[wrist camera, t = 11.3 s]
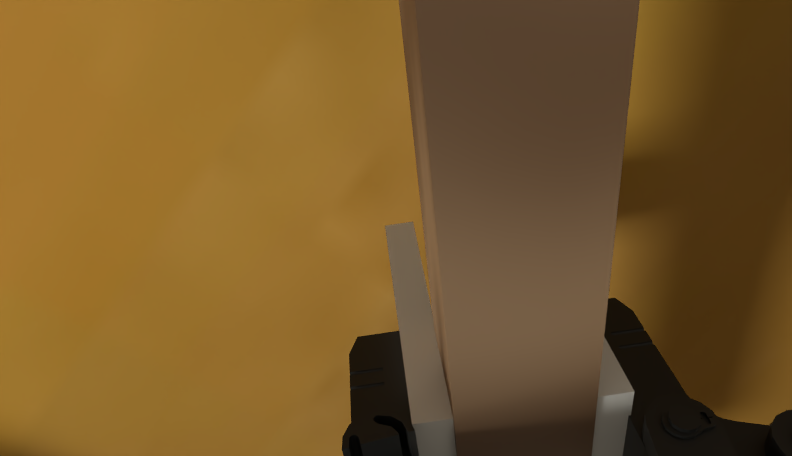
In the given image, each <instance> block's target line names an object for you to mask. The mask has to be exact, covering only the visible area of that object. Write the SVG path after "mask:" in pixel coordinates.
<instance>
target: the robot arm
mask: <svg viewBox="0 0 792 456" xmlns="http://www.w3.org/2000/svg"><path fill="white" fill-rule="evenodd" d="M385 229H386V236H387V243H388V251H389V258H390V266H391V273H392V280H393V288H394V295H395V303H396V310H397V317H398V325H399V331H395V332H388V333H381V334H374V335H367V336H361V337H357V339H356V341H355V343H354V345H353V347H352V349H351V352H350V354H349V363H350V389H351V391H350V396H351V424H350V425H349V426H348V428H347V430H346V432H345V434H344V436H343V441H342V451H343V455H344V456H457V454H456V444H455V433H454V423H453V416H452V411H451V406H450V401H449V397H448V392H447V387H446V382H445V377H444V373H443V368H442V363H441V358H440V353H439V349H438V344H437V339H436V334H435V330H434V322H433V314H432V310H431V305H430V300H429V295H428V291H427V286H426V281H425V276H424V272H423V267H422V262H421V257H420V253H419V248H418V243H417V238H416V234H415V229H414V224H413V222H408V223H401V224H394V225H387V226H385ZM592 456H792V410H786V411H785V412H783V413H781V414H779V415H777V416H776V417H775V419H774V421H773V422H772V424H771V426H769V425H761V424H753V423H745V422H737V421H732V420H727V419H723V418H720V417H717V416H716V415H715V414H714V412H713V411H712V410H710V409H709V408H708V407H706V406H705V405H703V404H702V403H700V402H698V401H696V400H693V399H690V398H689V397H688V395H687V394H686V393H685V391H684V390H683V388H682V387H681V385H680V384H679V382H678V381H677V379H676V377H675V376H674V374H673V373H672V371H671V370H670V368H669V367H668V365H667V363H666V362H665V360H664V359H663V357H662V356H661V354H660V352H659V351H658V349H657V348H656V346H655V345H653V344H652V340H651V338H650V337H649V335H648V334H647V332H646V331H644V328H643V326H642V324H641V323H640V321H639V320H638V318H637V317H636V315H635V314H634V312H633V311H632V310H631V309H629V308H628V307H627V306H625V305H624V304H623V303H621V302H620V301H619V300H617V299H616V298H610V299H608V305H607V314H606V324H605V333H604V343H603V352H602V362H601V371H600V381H599V390H598V400H597V409H596V419H595V428H594V438H593V447H592Z"/></svg>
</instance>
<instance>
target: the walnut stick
mask: <svg viewBox="0 0 792 456" xmlns="http://www.w3.org/2000/svg"><path fill="white" fill-rule="evenodd" d="M639 1H640V0H399V7H400V16H401V25H402V34H403V44H404V53H405V62H406V72H407V81H408V90H409V99H410V109H411V118H412V127H413V137H414V146H415V155H416V164H417V174H418V183H419V192H420V202H421V211H422V220H423V229H424V239H425V248H426V257H427V267H428V276H429V285H430V294H431V304H432V313H433V322H434V330H435V334H436V339H437V344H438V349H439V353H440V358H441V363H442V368H443V373H444V377H445V382H446V387H447V392H448V397H449V401H450V406H451V411H452V416H453V423H454V433H455V444H456V454H457V456H592V447H593V438H594V428H595V419H596V409H597V400H598V390H599V381H600V371H601V362H602V352H603V343H604V333H605V324H606V314H607V305H608V295H609V286H610V276H611V267H612V257H613V248H614V238H615V229H616V219H617V210H618V200H619V191H620V181H621V172H622V162H623V153H624V143H625V134H626V124H627V115H628V105H629V96H630V86H631V77H632V67H633V58H634V48H635V39H636V29H637V20H638V10H639Z"/></svg>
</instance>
